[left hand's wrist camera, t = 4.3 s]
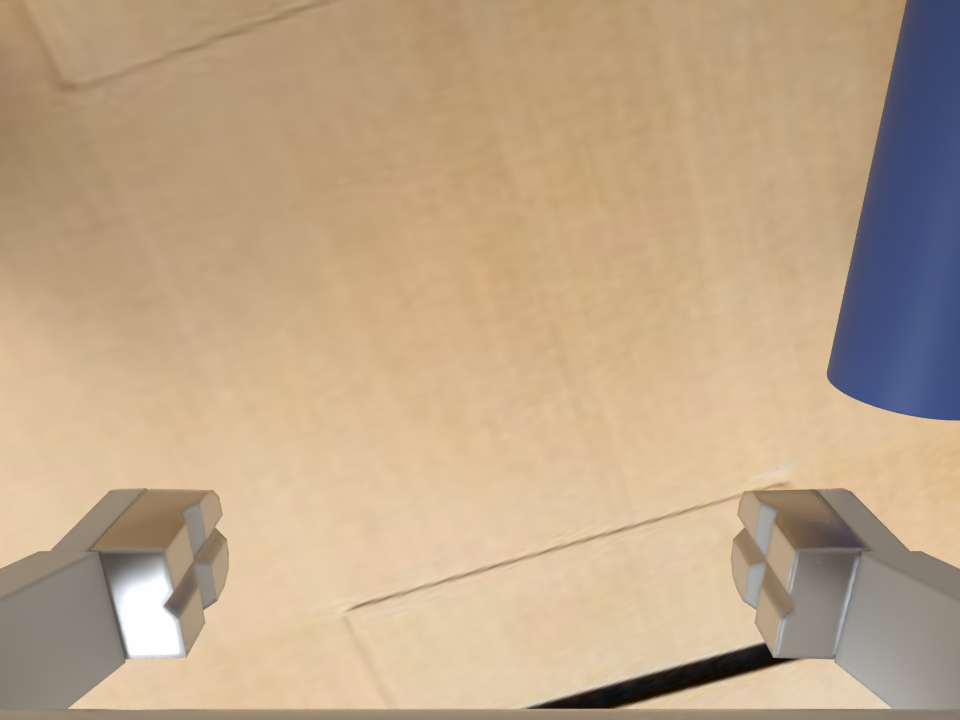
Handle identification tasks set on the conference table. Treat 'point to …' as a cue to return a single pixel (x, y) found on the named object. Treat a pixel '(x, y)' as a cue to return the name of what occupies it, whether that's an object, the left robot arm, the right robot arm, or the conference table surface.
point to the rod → (909, 234)
